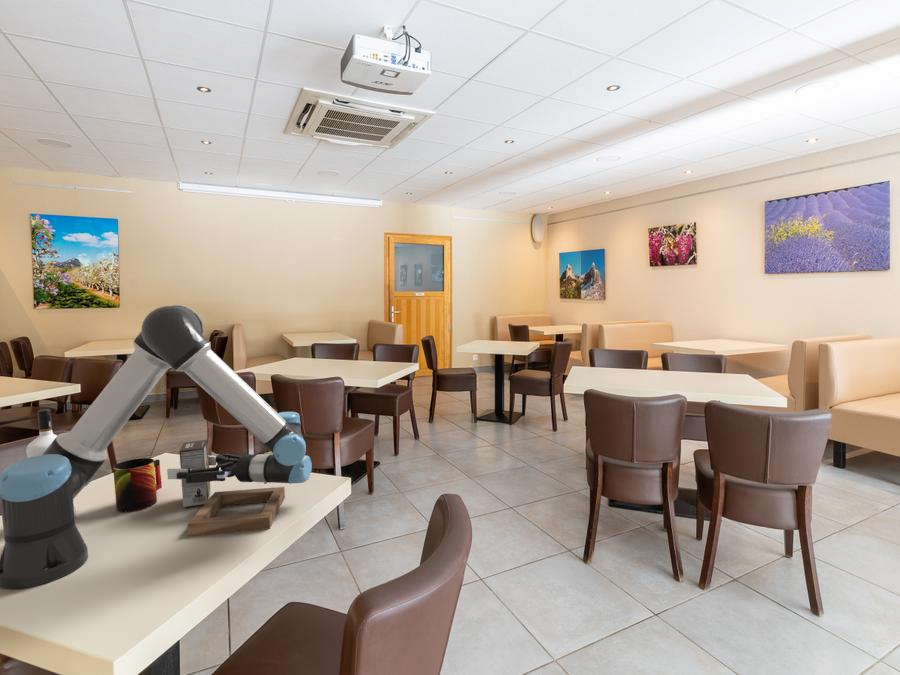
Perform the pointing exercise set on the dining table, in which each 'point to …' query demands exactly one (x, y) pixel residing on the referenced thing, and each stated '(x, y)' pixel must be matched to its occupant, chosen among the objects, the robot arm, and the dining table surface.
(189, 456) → the coffee box
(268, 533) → the dining table surface
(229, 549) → the dining table surface
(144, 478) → the mug
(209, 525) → the block
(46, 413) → the vodka
